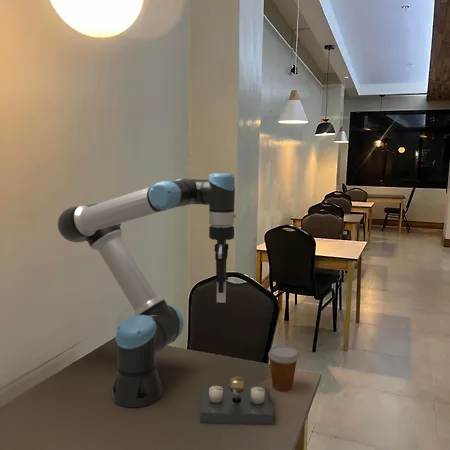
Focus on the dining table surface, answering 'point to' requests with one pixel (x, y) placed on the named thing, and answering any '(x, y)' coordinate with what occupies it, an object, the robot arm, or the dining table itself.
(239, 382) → the brass pot knob
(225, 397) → the mount panel
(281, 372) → the disposable coffee cup
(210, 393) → the knob
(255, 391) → the knob
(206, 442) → the dining table surface
